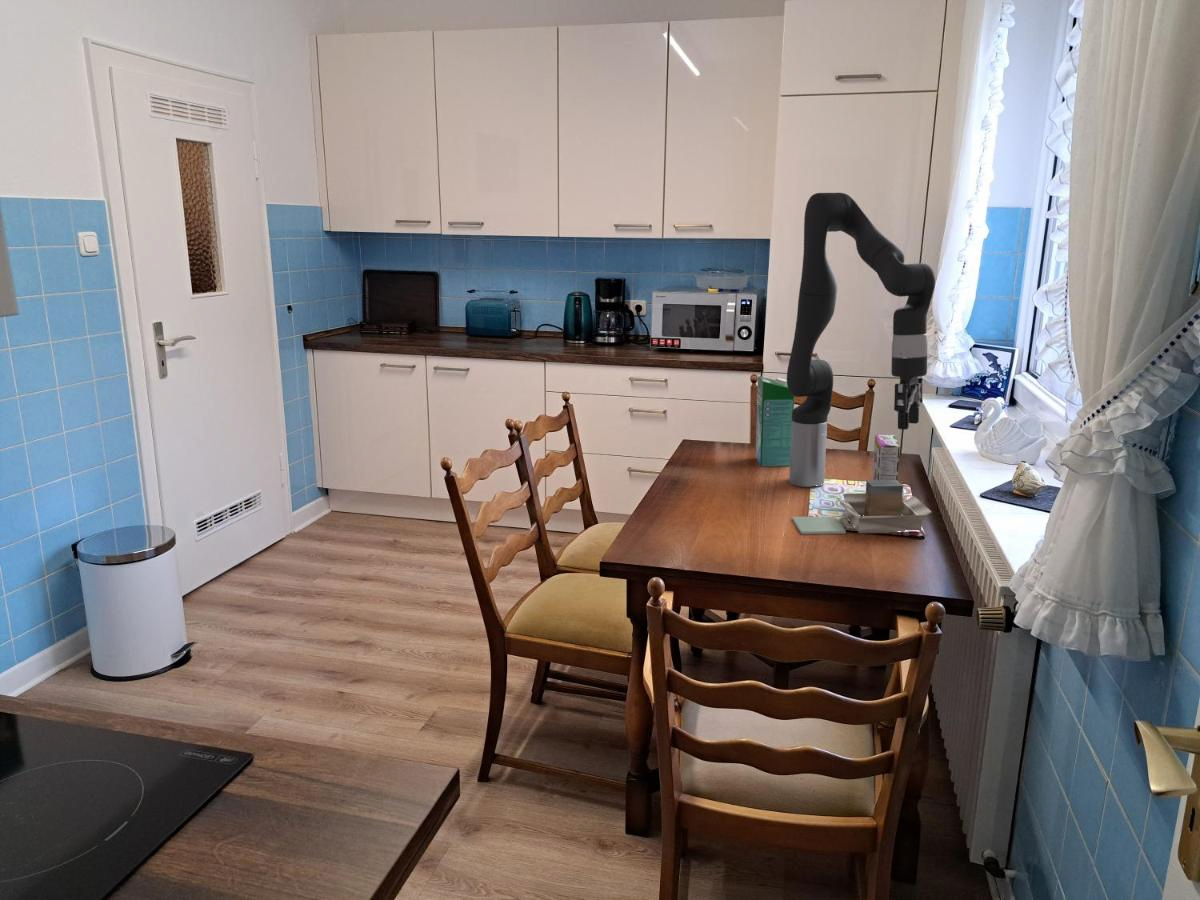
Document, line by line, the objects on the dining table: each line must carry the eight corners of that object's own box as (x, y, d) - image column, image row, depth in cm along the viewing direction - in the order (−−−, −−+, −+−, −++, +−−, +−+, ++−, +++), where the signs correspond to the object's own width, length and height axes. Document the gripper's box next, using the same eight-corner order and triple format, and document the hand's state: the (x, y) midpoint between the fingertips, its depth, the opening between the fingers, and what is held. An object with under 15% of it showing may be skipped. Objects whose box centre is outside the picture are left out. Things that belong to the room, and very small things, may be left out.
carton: (832, 512, 207) (833, 493, 206) (909, 511, 207) (910, 492, 206) (851, 537, 191) (853, 516, 190) (934, 535, 191) (936, 515, 190)
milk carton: (791, 466, 247) (795, 380, 240) (760, 466, 247) (763, 381, 241) (785, 457, 256) (788, 375, 249) (755, 458, 256) (757, 375, 249)
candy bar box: (870, 495, 219) (874, 433, 215) (890, 496, 218) (895, 434, 214) (874, 509, 209) (879, 445, 204) (896, 510, 208) (901, 445, 203)
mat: (792, 519, 203) (792, 516, 203) (834, 518, 203) (834, 516, 203) (801, 534, 193) (801, 531, 193) (845, 533, 193) (845, 531, 193)
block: (863, 520, 201) (866, 480, 199) (893, 520, 201) (896, 480, 199) (869, 527, 197) (872, 486, 194) (899, 527, 197) (903, 485, 194)
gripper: (901, 352, 199) (900, 420, 202) (882, 357, 187) (882, 430, 190) (934, 351, 194) (933, 422, 197) (918, 357, 183) (917, 432, 186)
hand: (908, 426), depth 194 cm, fingers open, 8 cm apart
